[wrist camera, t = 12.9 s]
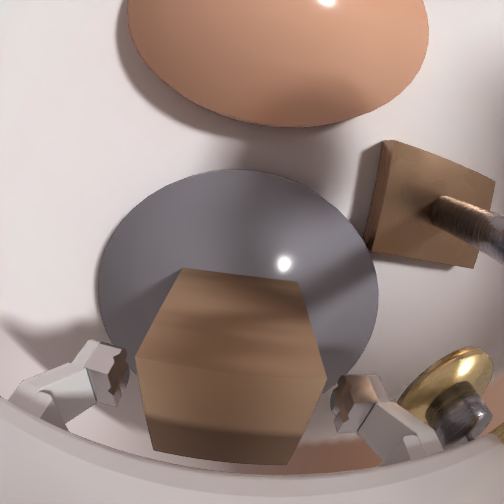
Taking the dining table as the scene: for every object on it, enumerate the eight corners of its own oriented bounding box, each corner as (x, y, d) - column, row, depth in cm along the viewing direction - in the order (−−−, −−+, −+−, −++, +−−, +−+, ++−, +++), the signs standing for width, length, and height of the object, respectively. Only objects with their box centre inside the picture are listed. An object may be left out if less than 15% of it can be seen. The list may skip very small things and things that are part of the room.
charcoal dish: (400, 198, 12) (412, 203, 11) (327, 407, 17) (330, 419, 16) (107, 157, 12) (95, 159, 11) (121, 381, 16) (115, 393, 15)
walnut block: (297, 281, 12) (327, 378, 7) (277, 366, 14) (287, 465, 8) (183, 267, 12) (135, 356, 7) (181, 355, 14) (153, 450, 8)
